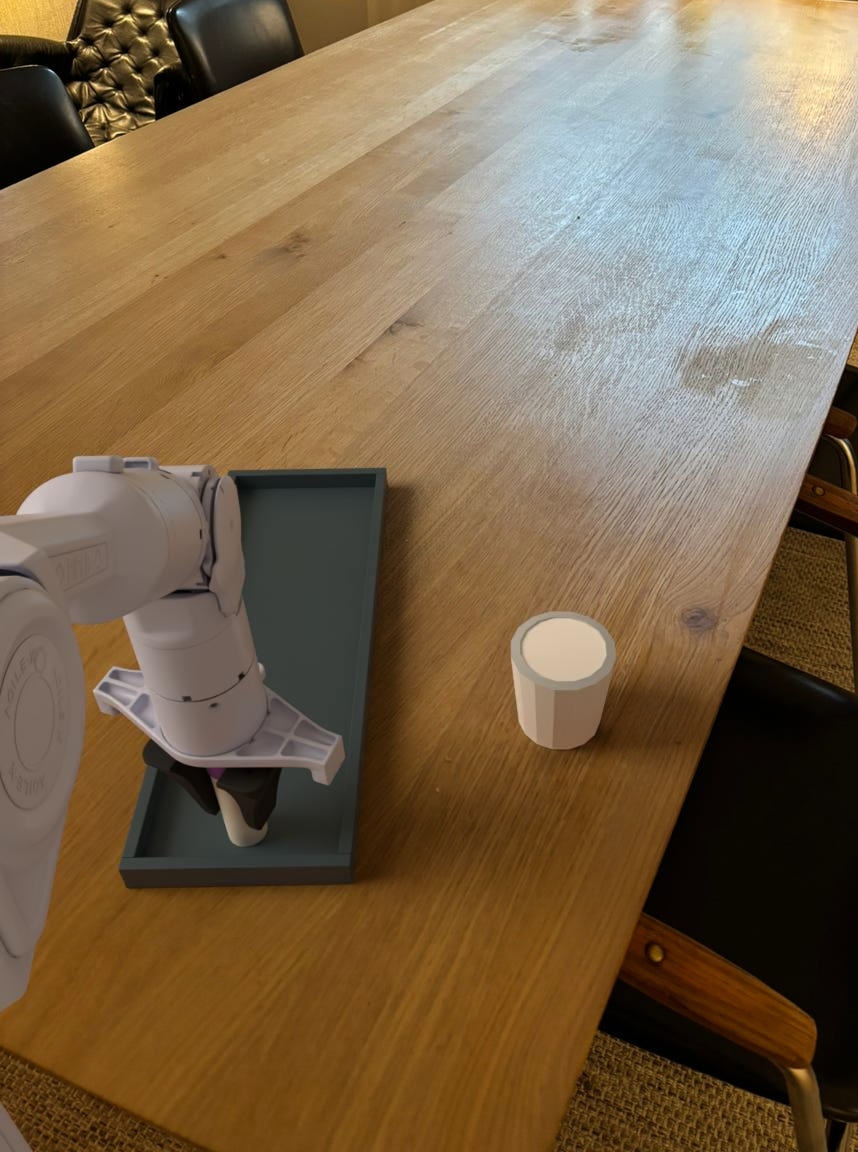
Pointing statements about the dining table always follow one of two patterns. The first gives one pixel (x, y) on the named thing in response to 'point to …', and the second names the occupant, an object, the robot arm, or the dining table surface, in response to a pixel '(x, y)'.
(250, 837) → the glue stick
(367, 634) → the desk tray
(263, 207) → the dining table surface
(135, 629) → the robot arm
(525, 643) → the white cup
